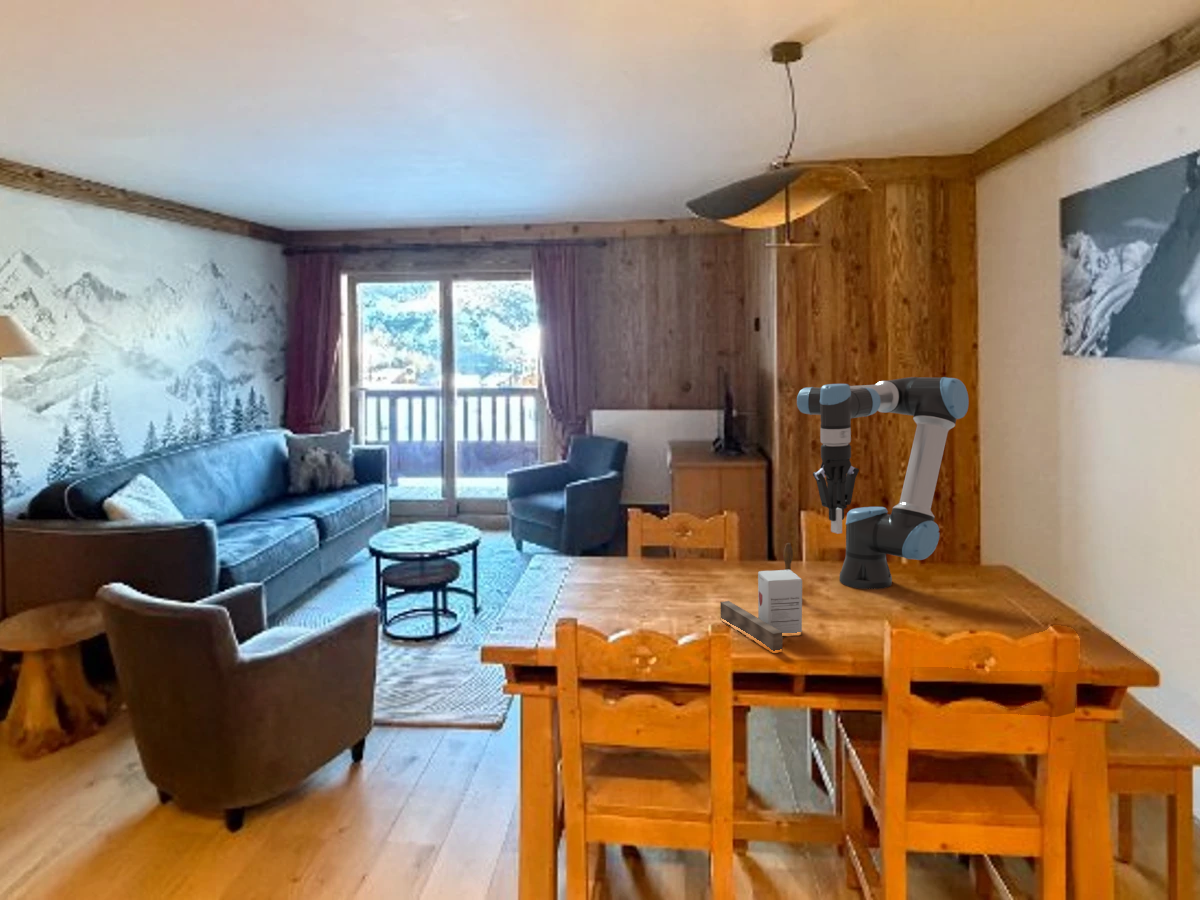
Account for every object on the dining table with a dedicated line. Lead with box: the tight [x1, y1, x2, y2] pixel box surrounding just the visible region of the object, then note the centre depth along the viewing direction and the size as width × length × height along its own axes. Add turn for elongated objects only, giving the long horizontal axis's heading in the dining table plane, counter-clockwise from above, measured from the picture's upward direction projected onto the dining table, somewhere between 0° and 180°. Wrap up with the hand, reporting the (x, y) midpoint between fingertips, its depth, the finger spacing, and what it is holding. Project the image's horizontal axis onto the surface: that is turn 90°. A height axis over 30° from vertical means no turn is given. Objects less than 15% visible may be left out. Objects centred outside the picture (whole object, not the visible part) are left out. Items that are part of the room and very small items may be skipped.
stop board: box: [720, 600, 783, 651], centre depth 202 cm, size 26×2×5 cm, turn 20°
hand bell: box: [783, 542, 794, 571], centre depth 231 cm, size 8×8×16 cm
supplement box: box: [757, 569, 803, 633], centre depth 204 cm, size 9×9×15 cm
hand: (836, 532), depth 211 cm, fingers closed
